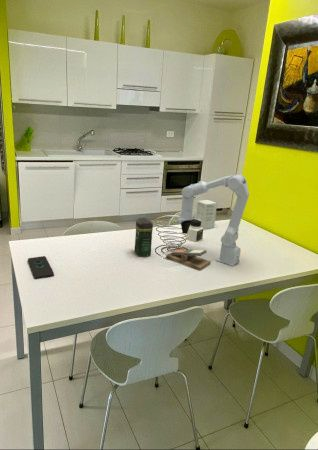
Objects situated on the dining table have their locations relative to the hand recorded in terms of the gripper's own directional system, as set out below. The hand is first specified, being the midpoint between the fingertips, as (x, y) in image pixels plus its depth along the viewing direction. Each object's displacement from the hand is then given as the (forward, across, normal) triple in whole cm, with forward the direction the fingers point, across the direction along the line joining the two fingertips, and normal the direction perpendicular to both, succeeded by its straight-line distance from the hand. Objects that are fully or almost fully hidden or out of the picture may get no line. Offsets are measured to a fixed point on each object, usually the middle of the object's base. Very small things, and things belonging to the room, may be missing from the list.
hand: (184, 233), depth 183 cm
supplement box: (+10, -43, -11) cm, 46 cm away
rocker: (+5, +11, +10) cm, 16 cm away
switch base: (+9, +11, +10) cm, 18 cm away
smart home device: (+10, +66, -34) cm, 75 cm away
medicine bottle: (+10, -18, -4) cm, 21 cm away
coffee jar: (+10, +20, -12) cm, 25 cm away
